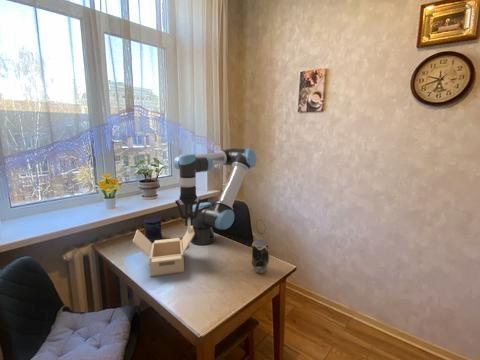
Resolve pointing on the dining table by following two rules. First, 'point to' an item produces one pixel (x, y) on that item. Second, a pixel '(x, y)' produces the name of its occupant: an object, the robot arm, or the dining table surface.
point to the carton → (166, 257)
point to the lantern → (260, 253)
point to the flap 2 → (187, 238)
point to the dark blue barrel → (153, 229)
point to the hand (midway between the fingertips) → (189, 231)
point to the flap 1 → (142, 242)
